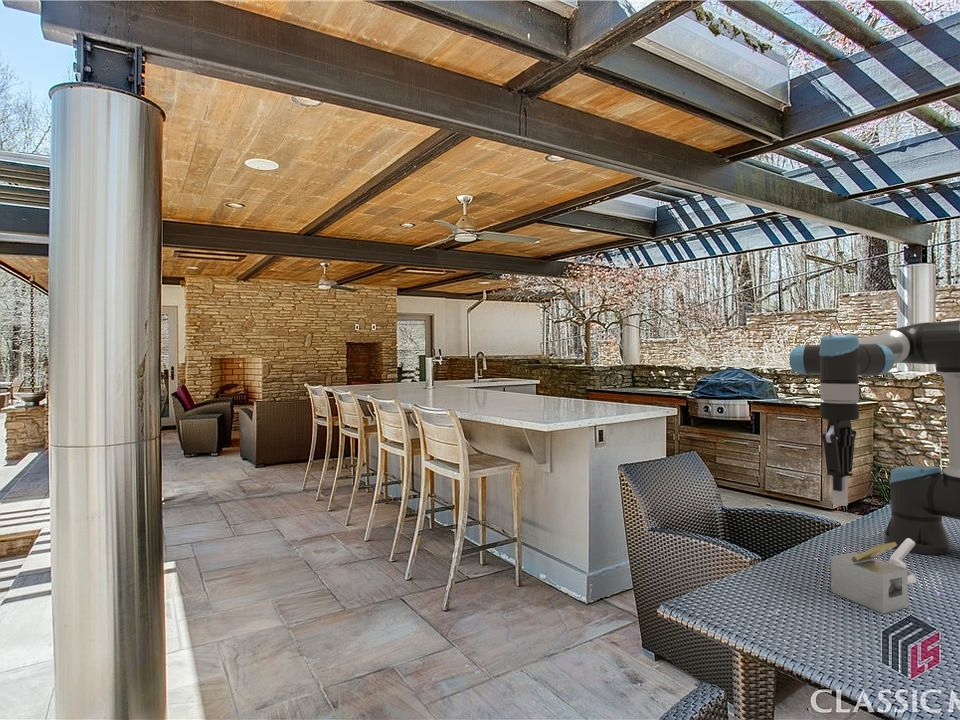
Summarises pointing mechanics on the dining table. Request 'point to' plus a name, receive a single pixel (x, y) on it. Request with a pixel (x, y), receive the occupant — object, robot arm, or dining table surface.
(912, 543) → the grey ring with handle
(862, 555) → the plate
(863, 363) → the robot arm
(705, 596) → the dining table surface
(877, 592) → the block
